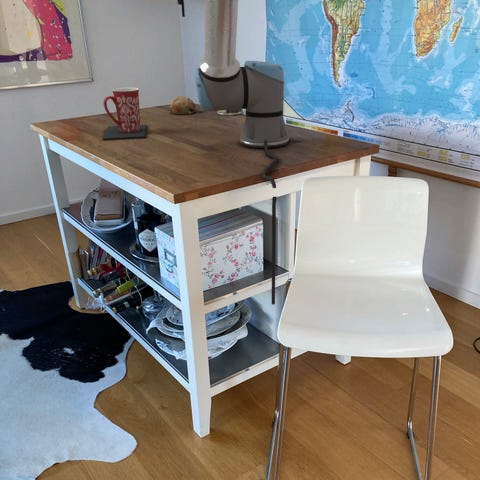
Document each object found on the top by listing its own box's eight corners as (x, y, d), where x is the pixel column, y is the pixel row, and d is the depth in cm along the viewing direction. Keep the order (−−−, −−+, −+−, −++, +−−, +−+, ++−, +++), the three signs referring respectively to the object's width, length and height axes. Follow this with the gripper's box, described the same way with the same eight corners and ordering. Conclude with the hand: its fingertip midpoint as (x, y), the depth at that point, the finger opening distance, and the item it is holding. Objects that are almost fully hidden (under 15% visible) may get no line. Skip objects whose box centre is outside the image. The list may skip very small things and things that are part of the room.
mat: (145, 138, 175) (145, 136, 174) (103, 140, 173) (102, 138, 173) (146, 126, 192) (146, 124, 191) (108, 128, 190) (108, 126, 190)
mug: (139, 126, 188) (134, 86, 181) (147, 131, 181) (142, 89, 174) (104, 131, 183) (98, 89, 176) (111, 135, 176) (105, 93, 169)
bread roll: (181, 124, 210) (187, 106, 205) (163, 111, 212) (168, 92, 207) (196, 120, 217) (202, 102, 212) (178, 107, 219) (183, 89, 214)
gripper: (239, -65, 161) (241, 14, 172) (158, -63, 159) (165, 17, 170) (242, -68, 155) (244, 15, 166) (158, -66, 153) (166, 17, 164)
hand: (204, 16), depth 168 cm, fingers open, 13 cm apart
